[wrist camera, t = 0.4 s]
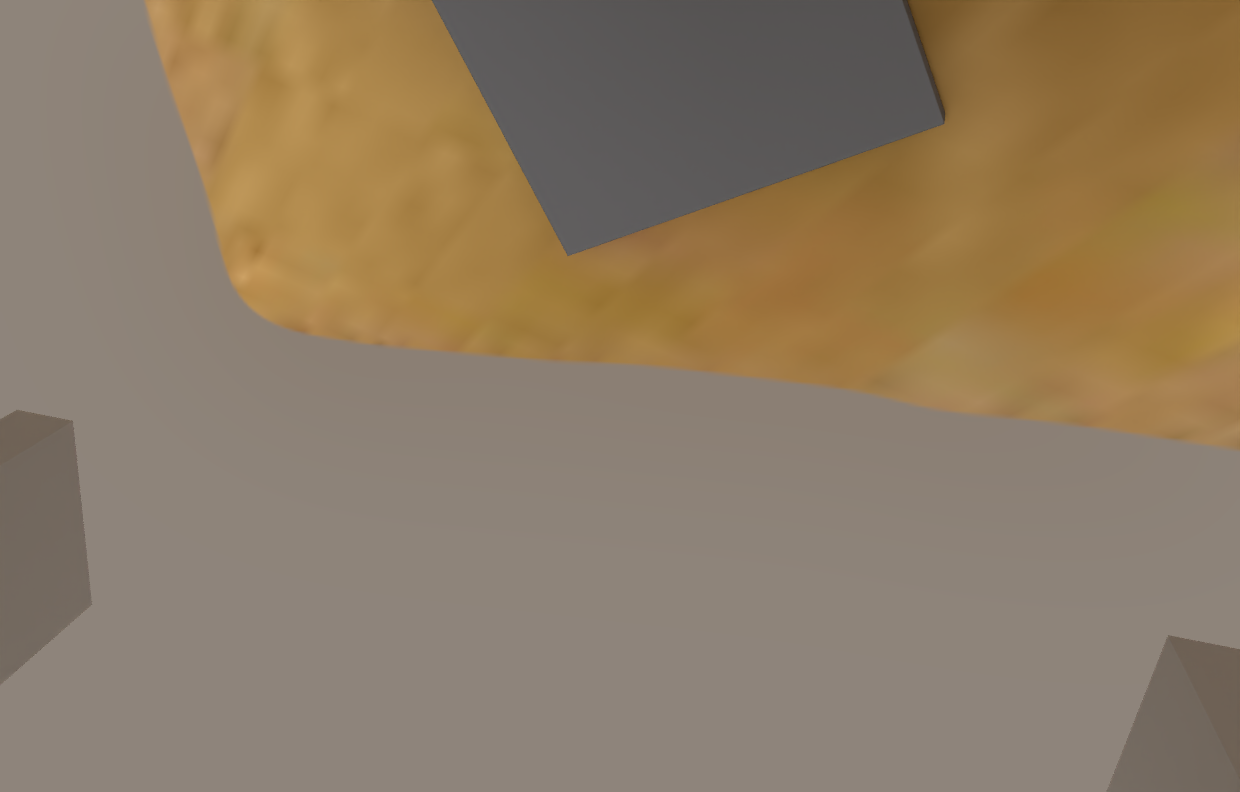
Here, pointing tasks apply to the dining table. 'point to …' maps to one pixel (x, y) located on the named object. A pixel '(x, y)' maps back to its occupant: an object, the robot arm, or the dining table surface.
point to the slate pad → (687, 97)
